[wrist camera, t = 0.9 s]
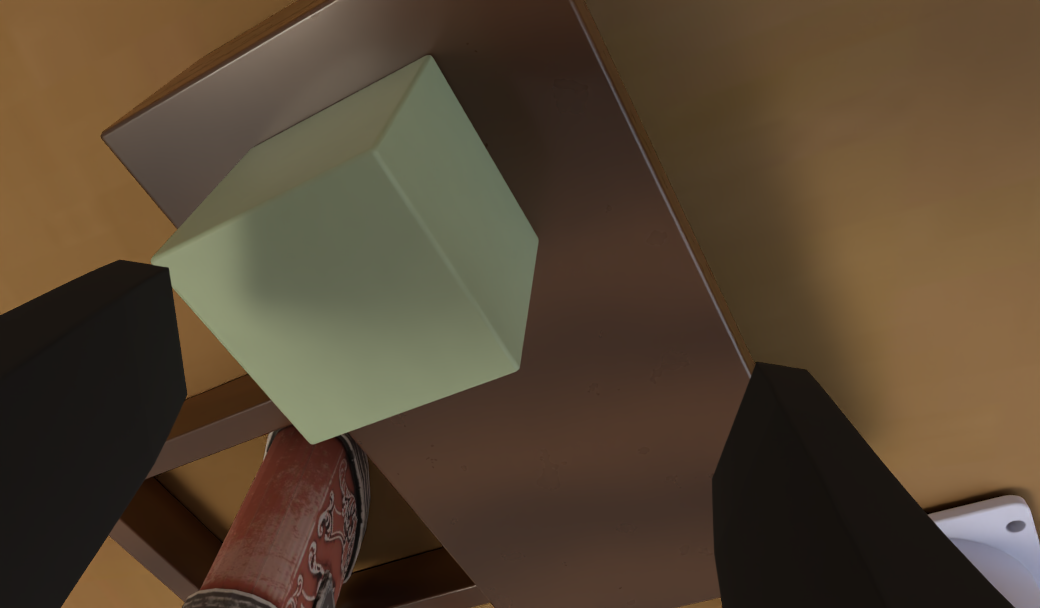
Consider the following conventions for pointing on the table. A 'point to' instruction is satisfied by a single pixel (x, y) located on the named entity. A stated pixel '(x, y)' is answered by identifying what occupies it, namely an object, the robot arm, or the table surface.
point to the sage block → (363, 258)
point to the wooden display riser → (549, 328)
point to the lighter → (293, 528)
